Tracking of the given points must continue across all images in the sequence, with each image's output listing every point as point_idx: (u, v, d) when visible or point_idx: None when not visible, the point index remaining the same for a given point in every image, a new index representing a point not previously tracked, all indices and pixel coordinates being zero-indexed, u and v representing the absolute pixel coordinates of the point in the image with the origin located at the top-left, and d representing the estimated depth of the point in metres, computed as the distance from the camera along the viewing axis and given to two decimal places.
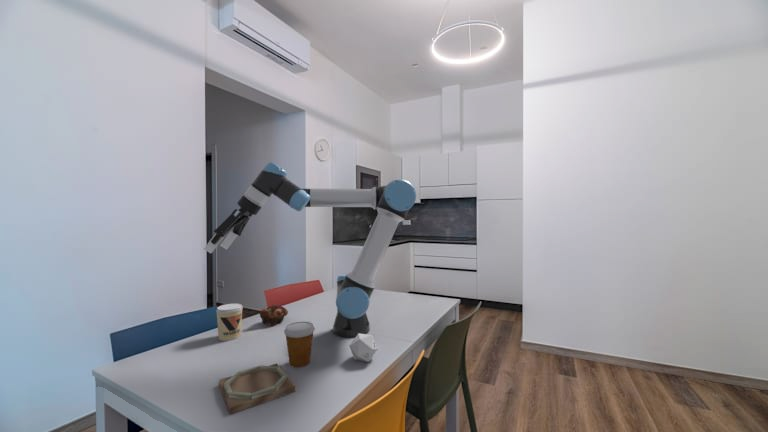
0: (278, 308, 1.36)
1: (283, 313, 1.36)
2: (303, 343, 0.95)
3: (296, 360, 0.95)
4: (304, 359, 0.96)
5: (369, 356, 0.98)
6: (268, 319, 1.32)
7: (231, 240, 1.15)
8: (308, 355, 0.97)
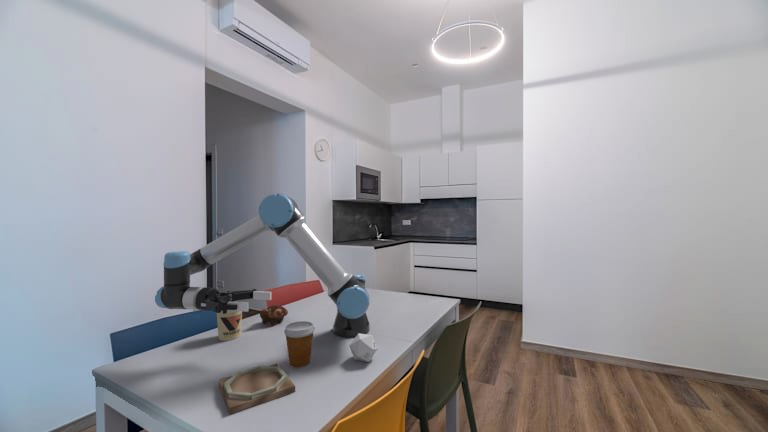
0: (278, 308, 1.36)
1: (283, 313, 1.36)
2: (303, 343, 0.95)
3: (296, 360, 0.95)
4: (304, 359, 0.96)
5: (369, 356, 0.98)
6: (268, 319, 1.32)
7: (260, 293, 1.08)
8: (308, 355, 0.97)
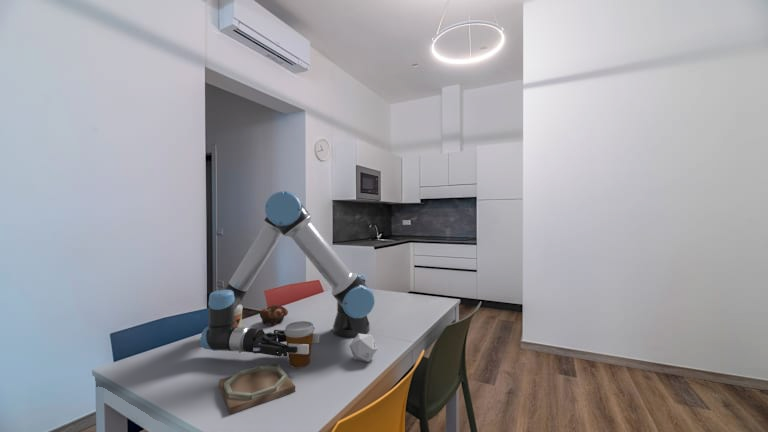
0: (278, 308, 1.36)
1: (283, 313, 1.36)
2: (303, 343, 0.95)
3: (296, 360, 0.95)
4: (304, 359, 0.96)
5: (369, 356, 0.98)
6: (268, 319, 1.32)
7: None
8: (308, 355, 0.97)
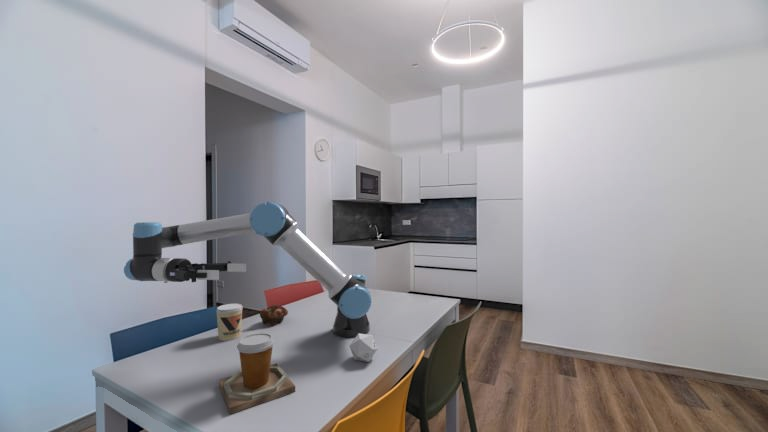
0: (278, 308, 1.36)
1: (283, 313, 1.36)
2: (258, 360, 0.81)
3: (250, 380, 0.81)
4: (260, 378, 0.81)
5: (369, 356, 0.98)
6: (268, 319, 1.32)
7: (234, 265, 1.04)
8: (265, 373, 0.83)
